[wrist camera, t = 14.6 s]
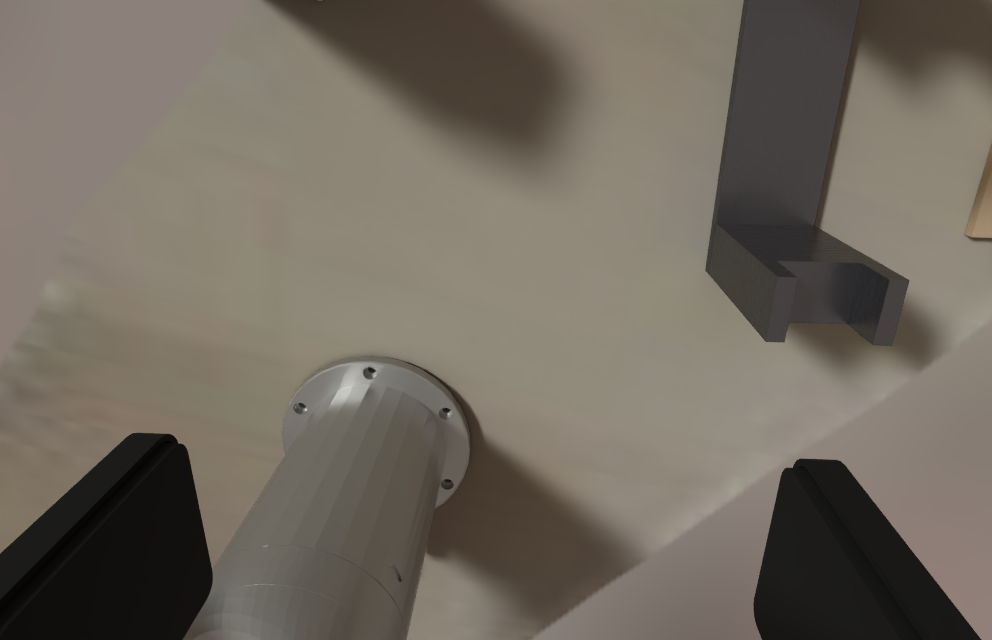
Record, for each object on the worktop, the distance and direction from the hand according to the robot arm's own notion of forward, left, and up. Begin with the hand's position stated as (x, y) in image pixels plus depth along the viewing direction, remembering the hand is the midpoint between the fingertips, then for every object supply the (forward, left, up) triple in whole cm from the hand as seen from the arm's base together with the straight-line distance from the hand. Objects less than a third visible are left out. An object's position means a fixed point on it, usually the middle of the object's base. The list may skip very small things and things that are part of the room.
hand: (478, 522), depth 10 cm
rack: (+5, -14, -28) cm, 32 cm away
